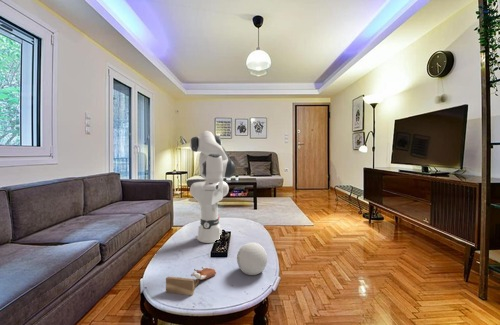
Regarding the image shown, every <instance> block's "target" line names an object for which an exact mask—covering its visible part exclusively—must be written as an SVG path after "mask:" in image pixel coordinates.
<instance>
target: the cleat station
mask: <svg viewBox="0 0 500 325" xmlns="http://www.w3.org/2000/svg"><path fill="white" fill-rule="evenodd" d="M199 284H200V280H199V279H198V280H197V282H196V279H194V278H189V277H188V278H186V277H180V276H179V277H176V276H167V277H166V278H165V293H169V294H177V295H185V296H193V295H194V294H195V289H196V288H197V287H198V286H199Z"/></svg>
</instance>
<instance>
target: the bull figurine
mask: <svg viewBox="0 0 500 325" xmlns="http://www.w3.org/2000/svg"><path fill="white" fill-rule="evenodd" d="M216 274H217V272H216V270H215V268H211V267H205V266H201V270H200V269H197V268H194V270H193V272H192V273H191V275H190V276H191V277H195V280H196V282H197V280H198V279H199V281H203V280H207V279H209V278H212V277H214V276H215V275H216Z"/></svg>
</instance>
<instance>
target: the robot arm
mask: <svg viewBox="0 0 500 325" xmlns="http://www.w3.org/2000/svg"><path fill="white" fill-rule="evenodd" d="M222 144H223V143H222V139H221V137H220V136H217V135H214V133H213V132H211V131H210V130H203V131H201V133H200V134H199V136H193V137H192V138H191V139H190V141H189V148H190V149H191V151H192V152H196V153H197V152H200V153H199V159H198V166H199V168H198V169H199V175H200V177H201V178H202V179H204V180H205V181H196V182H193V183H192V184H191V185H190V189H189V193H190V195H191V196H192V197H193V198H194V199H195V200H196V201H197V203H198V204H199V206H200V224H199V226H198V229H197V230H198V231H197V236H195V239H196V240H197V241H199V242H200V243H203V244H205V243H207V244H208V243H209V244H213V243H216V242H215V241H216V240H219V239H220V235H221V234H222V232H223V229H222V228H223V227H222V225H221V224H220V216H219V207H218V202H220V201H222V200H223V198H224V197H226V196H227V195H228V193H229V190H230V187H229V184H228V183H227V182H226V181H224V178H227V179H230V178H232V177H233V176H234V175H235V174H236V165H235V163H234V161H232V159H231V158H230V156H229V154H228V153H227V150H226V149H225V147H223V146H222Z"/></svg>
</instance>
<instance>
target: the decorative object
mask: <svg viewBox="0 0 500 325" xmlns="http://www.w3.org/2000/svg"><path fill="white" fill-rule="evenodd" d="M236 261H237V262H236V263H237V265H238V268H239V270H241V271H242V272H243V274H245V275H249V276H256V275H259V274H260V273H262V272H263V270H265V268H266V266H267V263H268V254H267V251H266V249H265V248H264V247H263V246H262V245H261V244H260V243H258V242H254V241H253V242H252V241H251V242H247V243H245V244H243V245H242V246H241V247H240V248H239V250H238V251H237V256H236Z"/></svg>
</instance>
